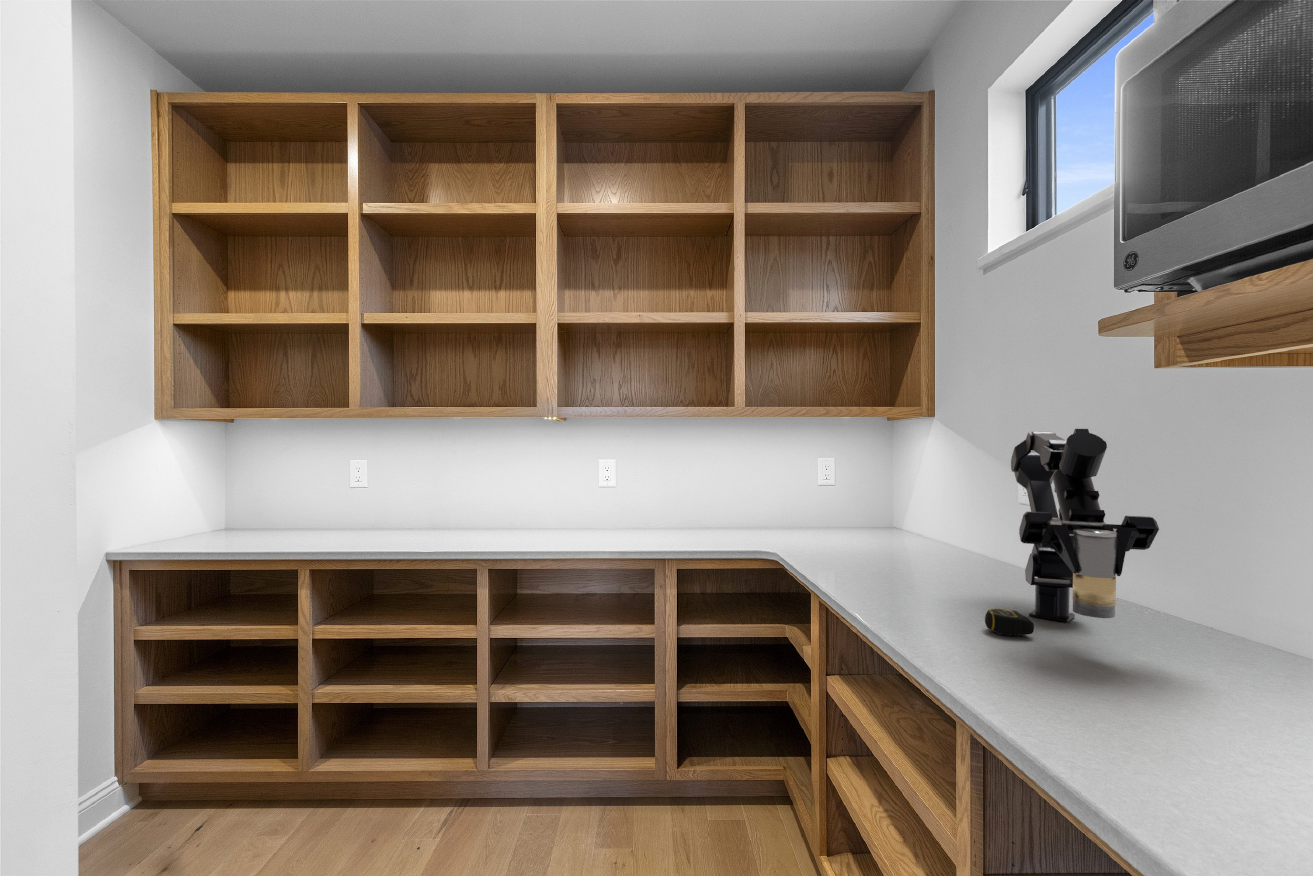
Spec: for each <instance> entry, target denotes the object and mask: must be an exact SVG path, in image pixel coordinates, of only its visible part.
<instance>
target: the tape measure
mask: <svg viewBox="0 0 1313 876" xmlns="http://www.w3.org/2000/svg"><path fill="white" fill-rule="evenodd" d="M984 617H985V618H984V623H985V626H986V628H987V629H989V631H992V632H994V633H997V634H998V635H1006V636H1026V635H1032V634H1033V633H1034V632H1035V631H1034V630H1035V629H1034V628H1035V625H1034V622H1033V621H1032V620H1031V619H1030V618H1028V617H1027V616H1025V615H1024V614H1022V613H1020V612H1018V611H1017V610H1009V609H1005V608H1004V609H1003V608H990V609H988V610H987V611H986V613H985V616H984Z"/></svg>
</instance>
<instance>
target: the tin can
mask: <svg viewBox="0 0 1313 876" xmlns="http://www.w3.org/2000/svg"><path fill="white" fill-rule="evenodd" d="M1073 533H1074V553H1075V557H1076V561H1077V573H1073V588H1072V612H1073V613H1074V614H1075V613H1076V614H1078V615H1080V616H1083V617H1084V616H1085V617H1089V618H1096V619H1113V618H1115V617H1116V603H1117V600H1116V599H1117V575H1116V537H1117V532H1113V531H1107V530H1098V529H1073Z"/></svg>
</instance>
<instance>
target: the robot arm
mask: <svg viewBox="0 0 1313 876" xmlns="http://www.w3.org/2000/svg"><path fill="white" fill-rule="evenodd" d="M1107 448H1108V445H1107V442H1106V440H1104V439H1103V438H1102V437H1100V436H1099V435H1097V434H1094V433H1091V432H1090V431H1089V428H1074V430H1073V433H1071V434H1070V435H1069V436H1068V437H1067V438H1066V439H1064V438H1061V436H1058V435H1057V433H1056V432H1052V431H1031V432H1028V433H1027V435H1026V438H1025V439H1024V440H1023V441H1021V442H1020V443H1019V444H1017V445H1016V446H1014V448H1013V451H1012V456H1011V459H1010V470H1011V472H1013V473H1014V476H1015V480H1016V483H1017V484H1019V485H1020V486H1021V487H1022V488H1024V489H1025V490H1026V493H1027V497H1028V498H1027V499H1028V503H1029V508H1030V511H1026V512H1025V513H1023V514H1022V518H1021V522H1020V525H1019V529H1018V530H1019V532H1018V534H1019V539H1020V542H1021V544H1026V545H1027V544H1029V545H1033V547H1032V549H1031V553H1030V554H1029V556H1028V560H1027V563H1026V566H1025V571H1024V572H1025V573H1024V574H1025V575H1024V577H1025V581H1026V582H1027V583H1028V584H1029V586H1034V588H1035V589H1034V590H1035V595H1034V597H1035V598H1034V609H1033V610H1032V611H1030V612H1029V613H1028V616H1031V617H1035V618H1041V619H1047V620H1052V621H1057V622H1063V623H1068V622H1070V621H1071V620H1073V618H1074V617H1076V615H1075V613H1074V612H1073V613H1072V612H1070V594H1071V593H1070V591H1071V590H1070V589H1071V588H1072V589H1073V573H1077V561H1076V557H1075V553H1074V533H1073V529H1098V530H1107V531H1113V532H1117V537H1116V577H1121V575H1122V573H1123V568H1124V567H1123V566H1124V563H1125V557H1126V554H1127V553H1126V552H1130V551H1131V550H1136V551H1138V550H1139V551H1141V550H1143V551H1145V550H1148V549H1150V548H1151V546H1152V544H1153V542H1154V540H1155V538H1156V536H1157V534H1158V533H1159V530H1160V528H1159V525H1158V523H1157V520H1156V519H1155V518H1154V517H1151V516H1143V515H1142V516H1141V515H1125V516H1124V517H1123V519H1122V522H1121V524H1114V523H1112V524H1111V523H1106V522H1105V520H1104V519H1105V517H1106V511H1105V509H1101V507H1100V506H1101V505H1100V503H1099V497H1100V496H1101V495H1100V493H1099V490H1096V489H1095V487H1094V482H1093V479H1092V478H1093V477H1096V476H1097V475H1098V473H1099V470H1100V468H1101V465H1102V462H1103V459H1104V456H1105V454H1106V452H1107V451H1106V450H1107ZM1052 484H1053V486H1054V488H1053V487H1052ZM1053 489H1054V492H1053ZM1054 493H1055V494H1056V499H1057V502H1058V505H1059V506H1058V507H1059V508H1057V506H1056V505H1057V504H1056V501H1055V496H1054ZM1057 509H1058V510H1057Z"/></svg>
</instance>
